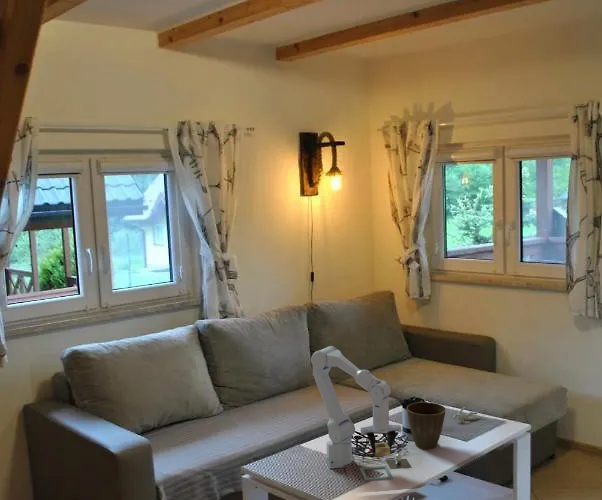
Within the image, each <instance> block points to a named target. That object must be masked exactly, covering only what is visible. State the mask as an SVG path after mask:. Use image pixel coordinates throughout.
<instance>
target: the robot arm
mask: <svg viewBox="0 0 602 500" xmlns="http://www.w3.org/2000/svg"><path fill="white" fill-rule="evenodd" d="M309 360H310V362H311V366H312V377H314V381H315V384H316V386H317V389H318V391H319V394H320V396H321V399H322V402H323V405H324V407H325V410H326V413H327V415H328V418H329V420H328V422H327V424H326V426H327V429H328V430H327V431H328V437H329V441H326V462H327V465H328V468H329V469H340V468H345V467H346V466H348V465H350V464H351V463H353V453H352V452H353V445H352V443H353V440H352V439H353V435H355V433H356V426H355V424H354V423H353V421H352V420H351V418H350V416H349V414H345V413H344V411H343V409H342V407H341V404H340V402H339V401H340V400H339V399H338V395H337V393H336V391H335V388H334V385H333V382H332V380H331V377H330V375H329V373H330V371H331V369H332V367H334V368H335V367H336V368H338V369H341V370H342V371H343V372H345V373H346V374H348V375H350V376H351V377H353V378H354V382H355V384H357V385H359V386H360V387H361V388H363V390H366V391H367V392H368V393H369V397H370V398H371V401H372V402H371V403H372V425H370V426H365V427H360V435H363V436H364V435H366V436H367V438H368V441H369V444H370V447H371V452H372V454H374V453H375V443H376V436H375V434H386V443H387V444H388V446H389V447H390V453H391V450H392V447H393V443H394V441H395V439H396V438H397V433H402V426H401V425H400V424H390V404H389V403H390V400H389V399H390V395H391V393H392V386H391V384H390V382H388V381H387V380H381V379H380V378H377V377H376V376H375V375H373V374H372V373H371V371H370V370H368V369H360V368H359V367H358V366H356V365H355V364H354V363H352V362H351V361H350V360H349V359H347V358H346V357H345V355H343V354H342V352H341V350H340V349H338V348H337V347H335V346H333V345H328V346H327V347H325V348H323V349H319V350H315V352H313V353H312V355H311V357H310V359H309ZM396 432H397V433H396Z"/></svg>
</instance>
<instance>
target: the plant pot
mask: <svg viewBox="0 0 602 500" xmlns="http://www.w3.org/2000/svg"><path fill="white" fill-rule="evenodd" d="M406 412H407V419H408V423H409V428H410V433H411V435H412V438H413V442H414V445H415V447H417V448H418V449H421V450H432V449H435V448H436V447H437V445H438V442H439V441H440V438H441V435H442V431H443V426H444V421H445V416H446V407H445V406H443V405H442V404H439V403H435V402H426V401H422V402H413V403H410V404H408V405H407V406H406Z"/></svg>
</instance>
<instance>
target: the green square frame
mask: <svg viewBox="0 0 602 500" xmlns="http://www.w3.org/2000/svg"><path fill="white" fill-rule="evenodd" d="M388 467H389V466H388V465H379V466H377V465H376V466H362V467H359V471H360V473H361V474H362V477H363V479H364V481H365V482H371V481H372V482H373V481H384V480H385V481H386V480H394V477H393V475H392V473H391V471H390V470H389V469H390V468H388ZM380 469H382V470H383V469H384V470H385V472H386V473H387V476H380V477H379V476H378V477H377V476H376V477H367V475H366V472H365V471H367V470H370V471H371V470H380Z"/></svg>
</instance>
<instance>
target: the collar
mask: <svg viewBox="0 0 602 500" xmlns="http://www.w3.org/2000/svg"><path fill="white" fill-rule="evenodd" d="M373 455H375V457H389V456H391V452H390V447H389V446H388V444H387V441H386V442H384V441H383V442H375V453H373Z"/></svg>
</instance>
